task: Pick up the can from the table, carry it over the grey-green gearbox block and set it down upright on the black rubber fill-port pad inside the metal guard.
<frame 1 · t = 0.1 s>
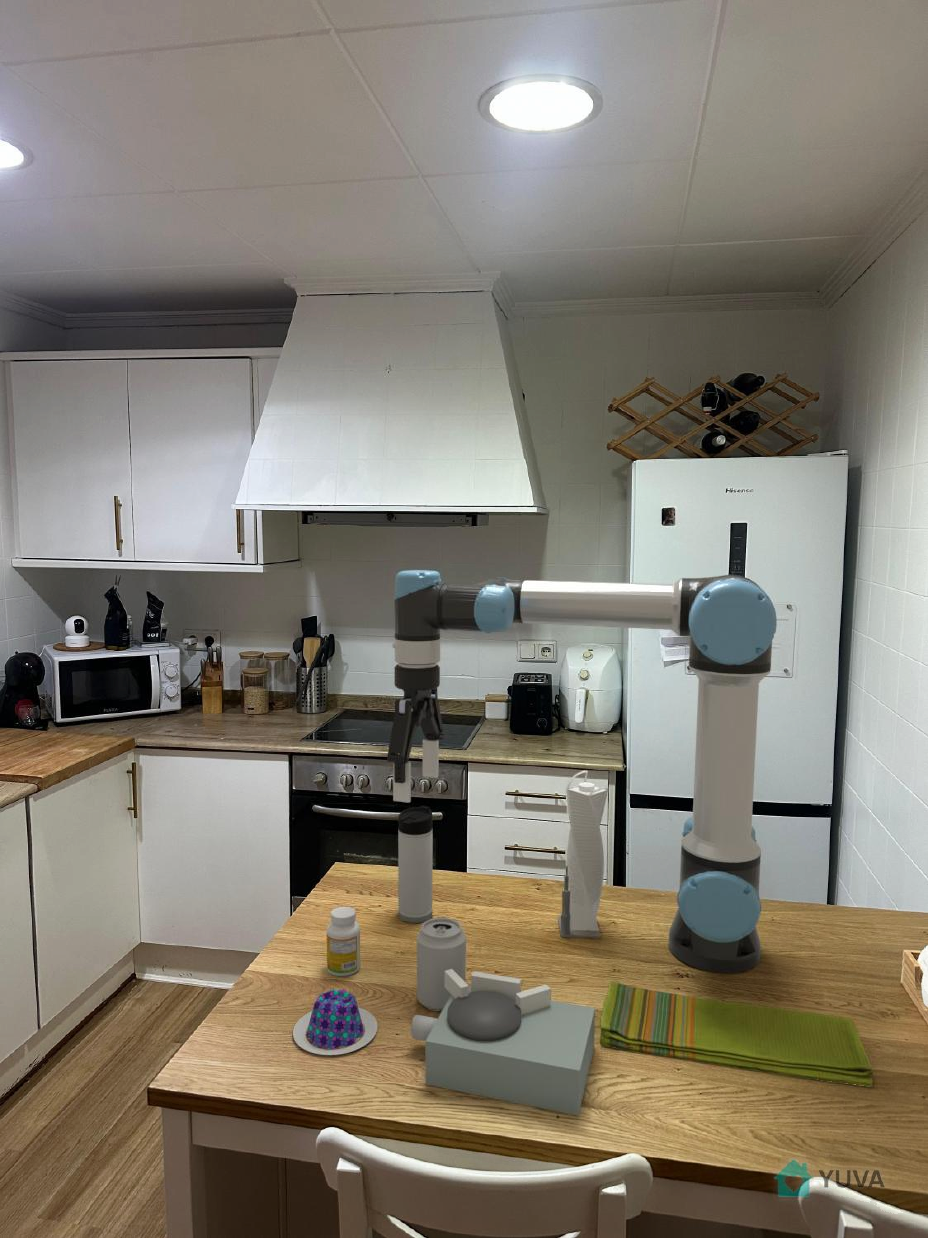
hand: (416, 788, 142), 28 cm above the table, tool pointing down, fingers open, 13 cm apart
travel mug: (415, 916, 157), on the table
can: (441, 1001, 129), on the table
dish towel: (727, 1039, 121), on the table
gearbox: (512, 1065, 114), on the table
supplement bottle: (343, 969, 138), on the table
pudding: (335, 1035, 121), on the table
skyscraper: (581, 927, 153), on the table
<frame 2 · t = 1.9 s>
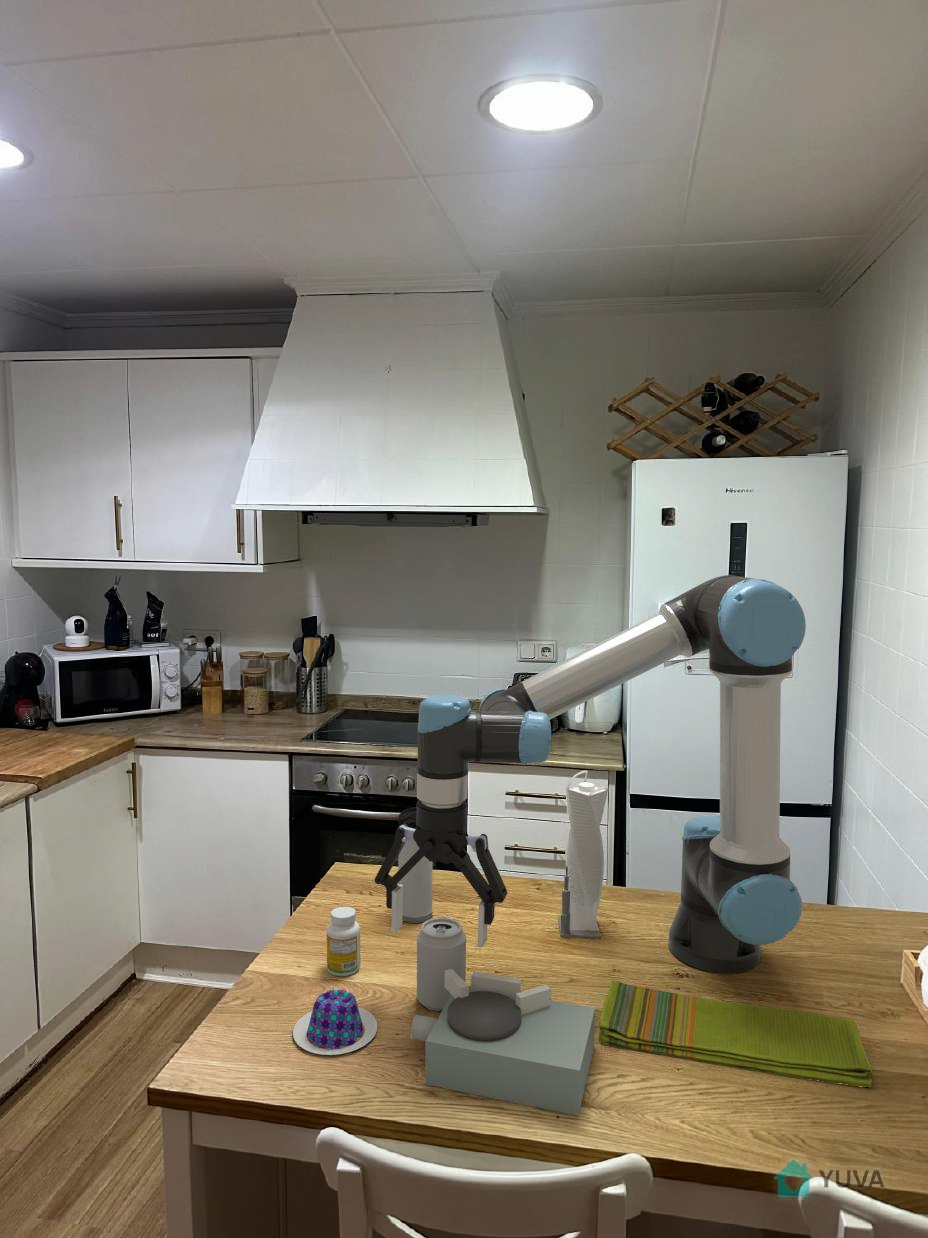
hand: (439, 936, 128), 10 cm above the table, tool pointing down, fingers open, 13 cm apart
nothing on the table moved.
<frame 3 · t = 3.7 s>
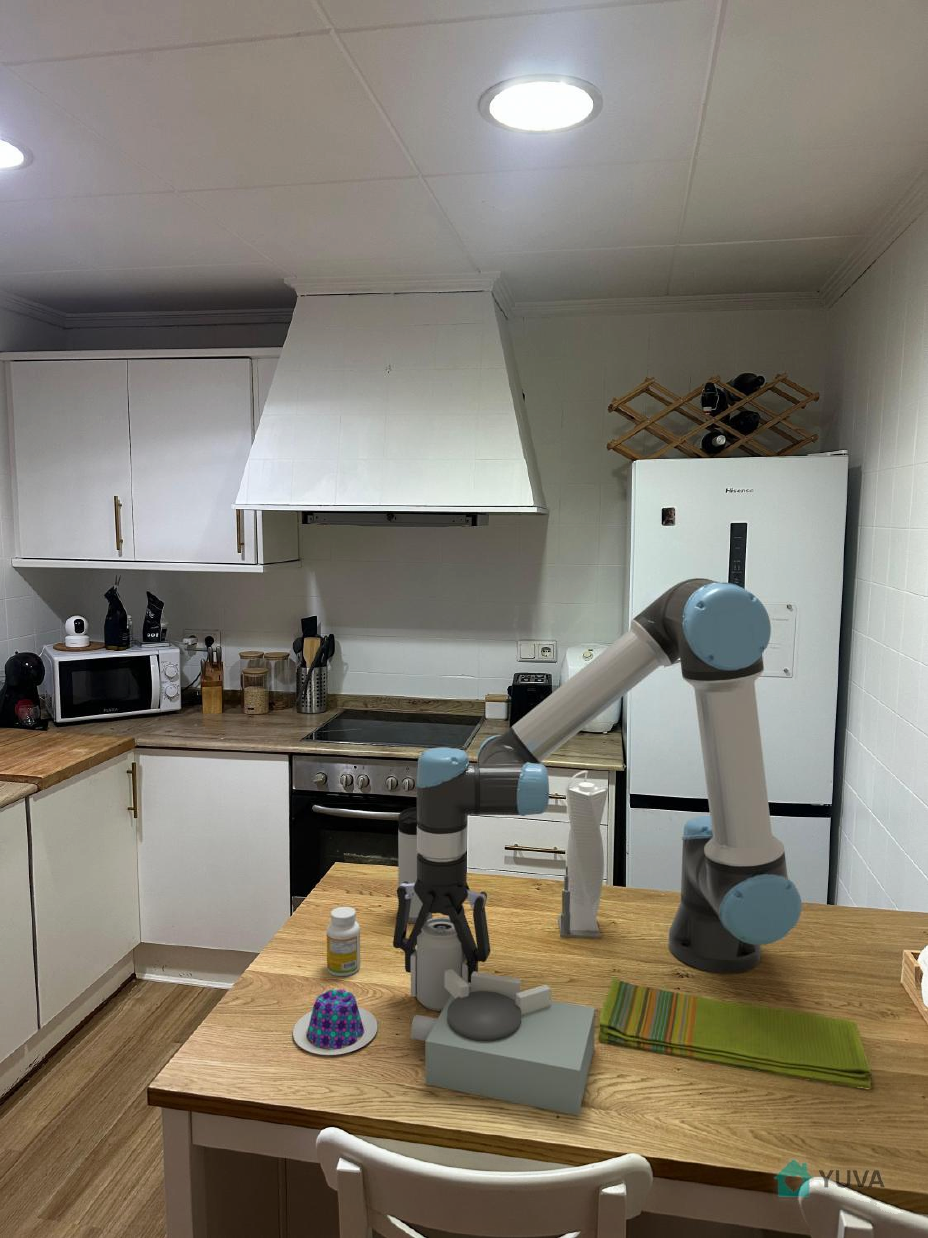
hand: (441, 996, 129), 1 cm above the table, tool pointing down, fingers closed on can, 7 cm apart
can: (441, 1001, 129), on the table, touching gripper
everything else where it was.
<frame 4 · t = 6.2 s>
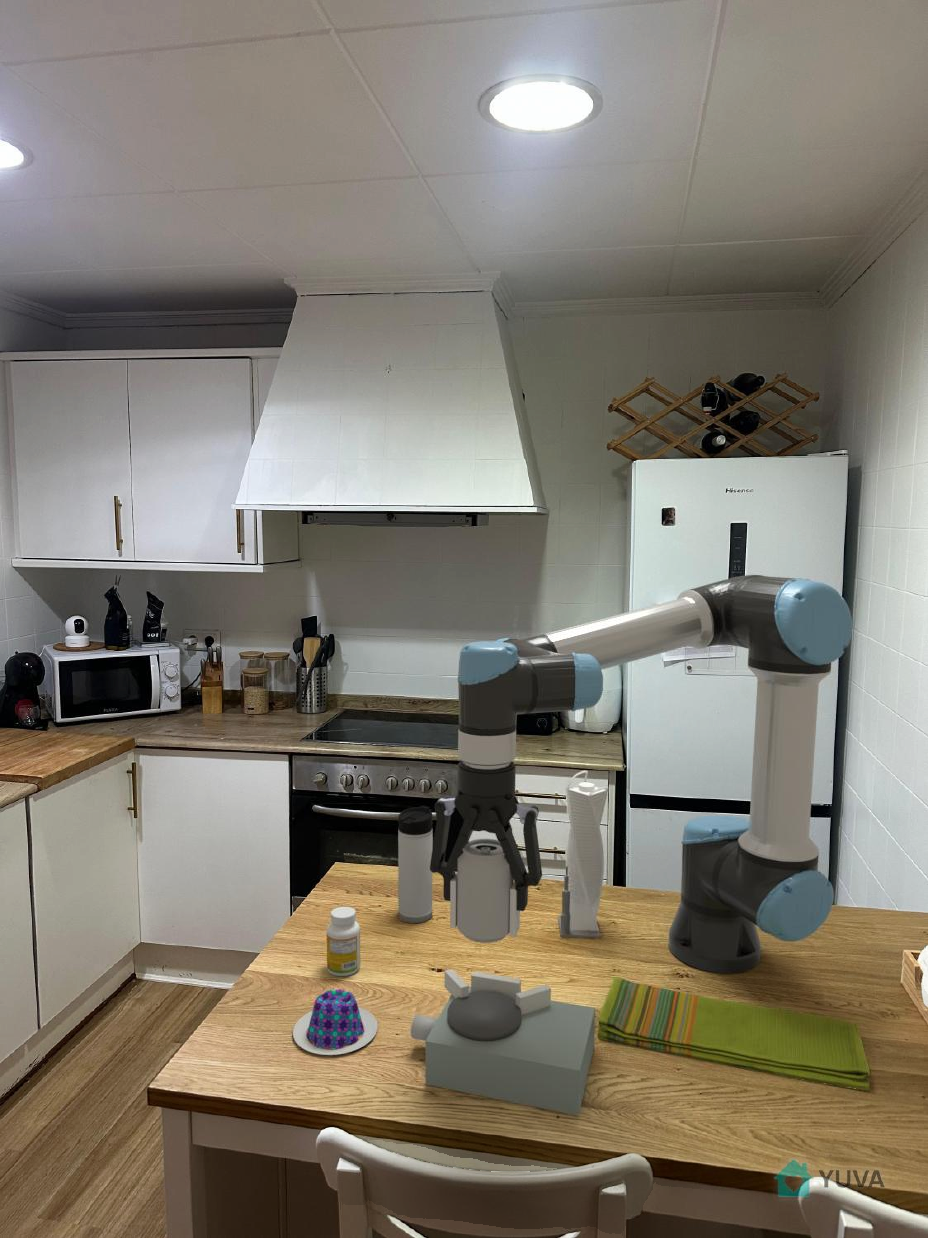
hand: (484, 927, 113), 19 cm above the table, tool pointing down, fingers closed on can, 7 cm apart
can: (484, 933, 113), point 18 cm above the table, touching gripper
everything else where it was.
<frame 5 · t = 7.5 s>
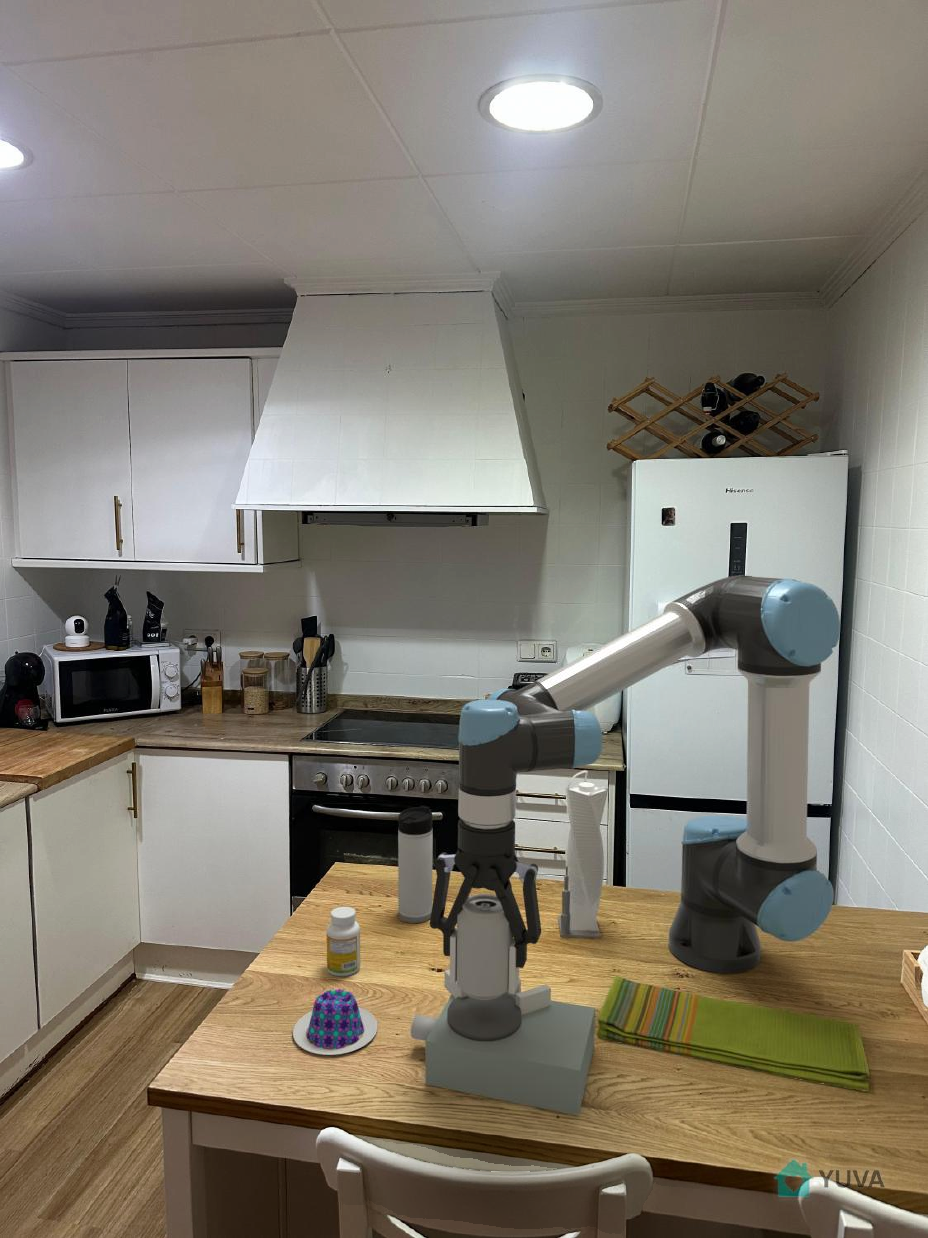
hand: (484, 983, 114), 11 cm above the table, tool pointing down, fingers closed on can, 7 cm apart
can: (484, 989, 114), point 10 cm above the table, touching gripper
everything else where it was.
when the fingers open (9 cm above the table, at t = 8.7 s): can drops 1 cm, resting on gearbox.
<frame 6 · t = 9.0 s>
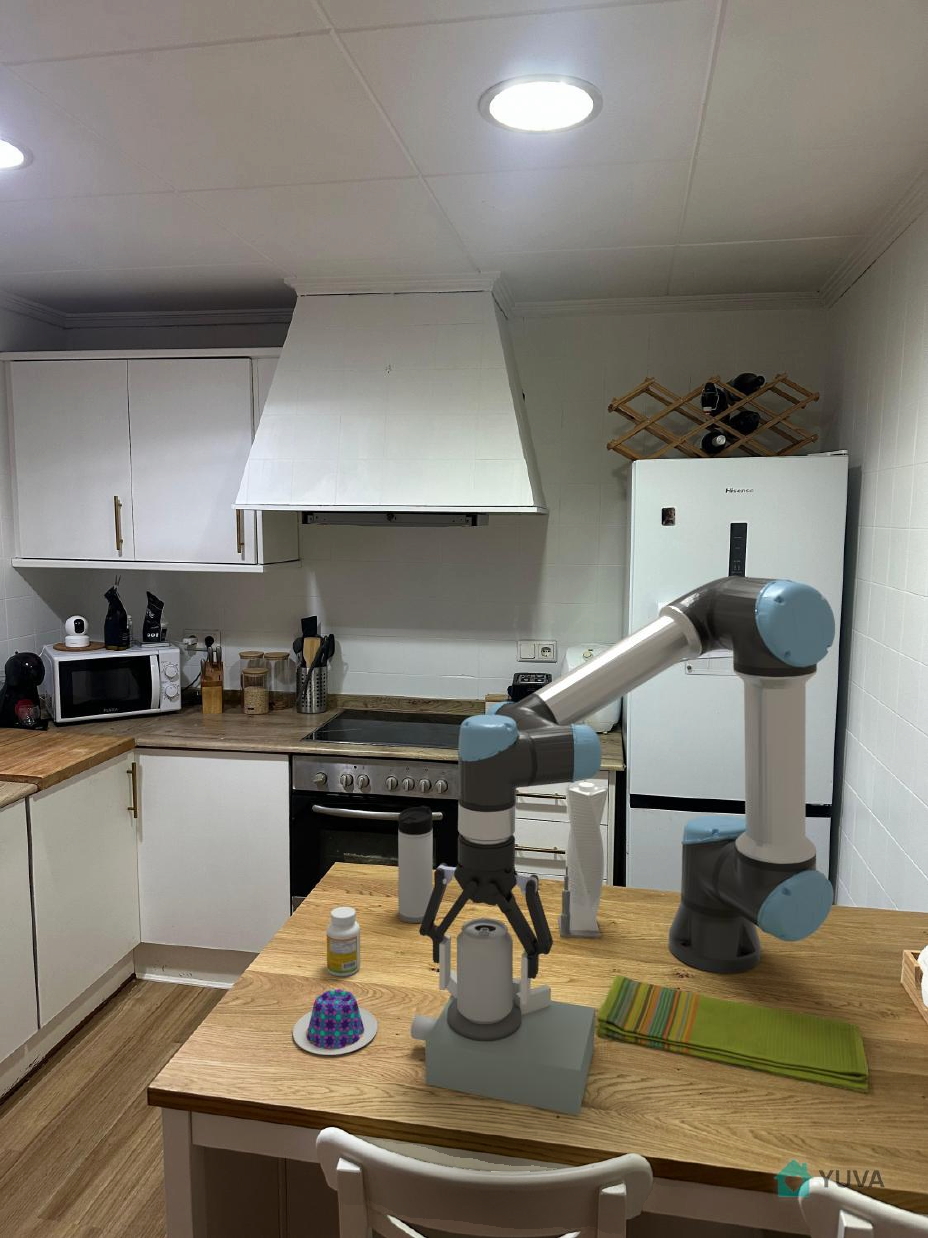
hand: (484, 992, 114), 10 cm above the table, tool pointing down, fingers open, 10 cm apart
can: (484, 1013, 114), point 7 cm above the table, touching gearbox
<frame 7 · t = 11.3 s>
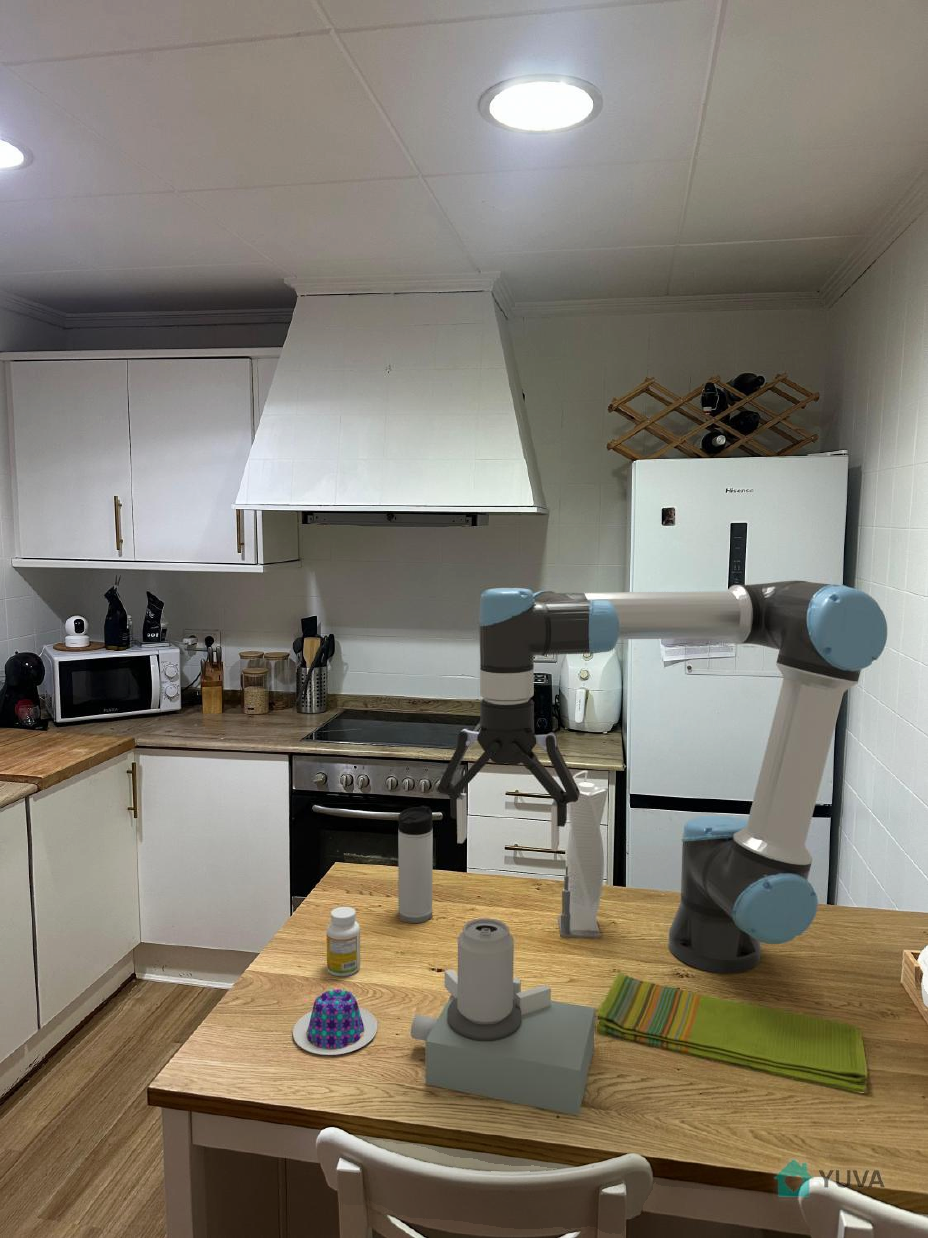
hand: (508, 843, 121), 27 cm above the table, tool pointing down, fingers open, 13 cm apart
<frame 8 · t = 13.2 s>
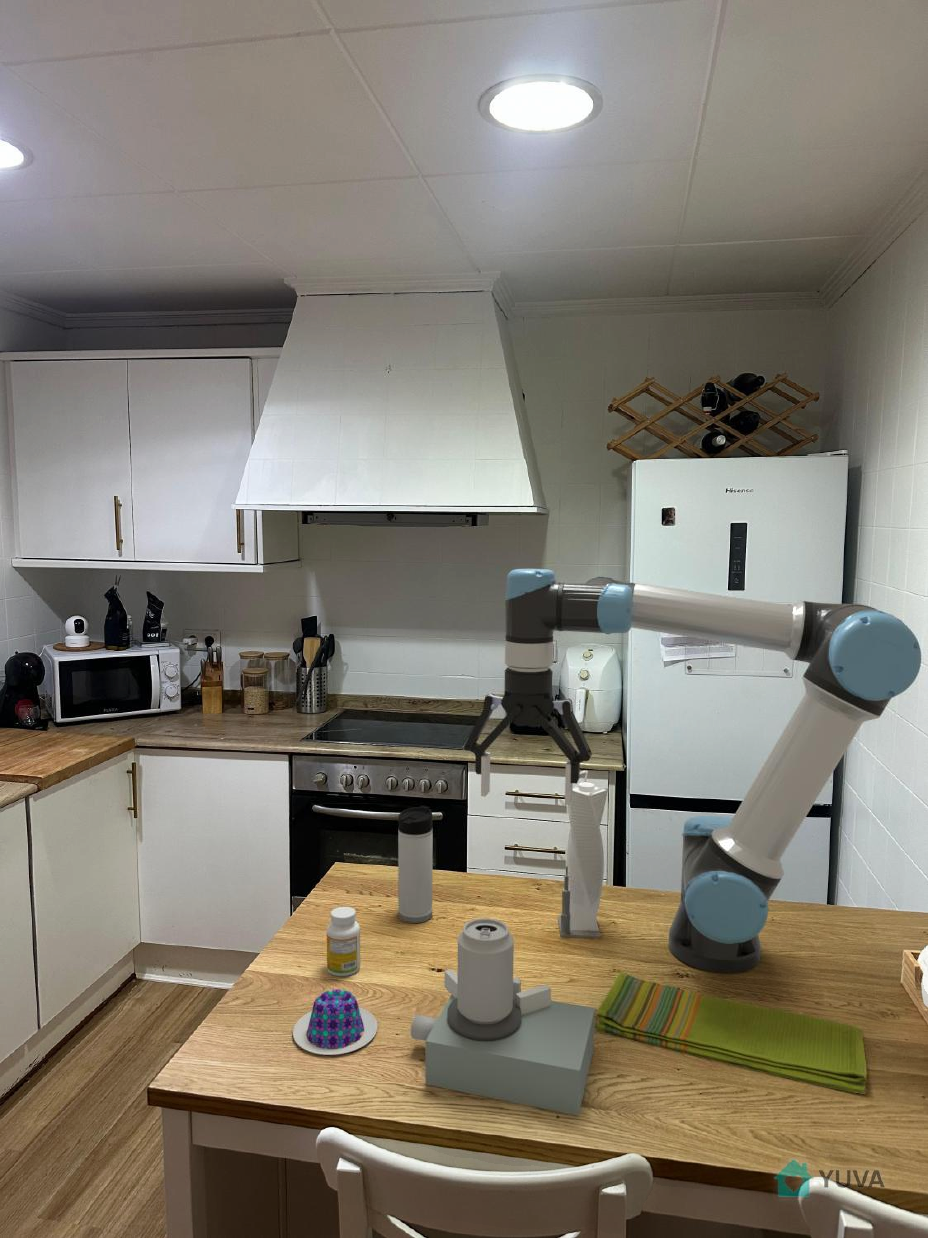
hand: (526, 798, 135), 29 cm above the table, tool pointing down, fingers open, 13 cm apart
at the end: can inside the target area on the gearbox (0.0 cm from its centre), point 6.8 cm above the gearbox's base; can tilted 0°; the gripper is holding nothing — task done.
